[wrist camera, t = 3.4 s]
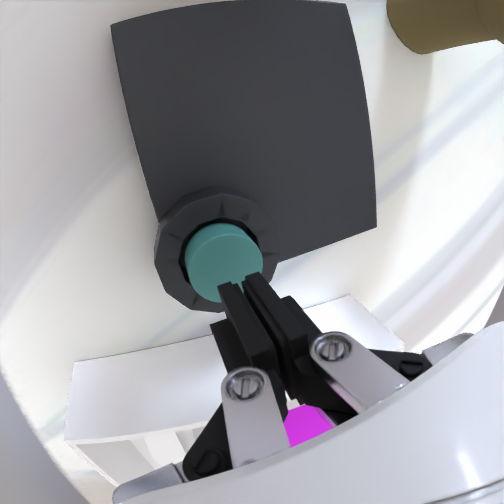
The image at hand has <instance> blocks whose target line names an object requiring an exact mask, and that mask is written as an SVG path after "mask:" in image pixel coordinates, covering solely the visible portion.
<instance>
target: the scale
mask: <svg viewBox="0 0 504 504" xmlns="http://www.w3.org/2000/svg"><path fill="white" fill-rule="evenodd" d="M110 28H111V34H112V40H113V45H114V51H115V56H116V62H117V67H118V72H119V77H120V81H121V86H122V91H123V95H124V100H125V104H126V108H127V113H128V117H129V121H130V125H131V129H132V133H133V137H134V140H135V144H136V148H137V152H138V155H139V159H140V163H141V166H142V170H143V173H144V177H145V180H146V183H147V187H148V190H149V193H150V197H151V200H152V203H153V206H154V209H155V213H156V216H157V219H158V222H159V227H158V232H157V236H156V241H155V246H154V262H155V267H156V269H157V272H158V274H159V277H160V279H161V282H162V284H163V287H164V289H165V291H166V293H168V294H169V295H170V296H172V297H173V298H175V299H176V300H177V301H179V302H180V303H182V304H183V305H184V306H186V307H187V308H189V309H191V310H198V311H207V312H216V313H220V312H224V308H223V305H222V302H214V301H210V300H208V299H205V298H204V297H202V296H200V295H199V294H198V293H197V292H196V291H195V290H194V288H193V286H192V284H191V282H190V279H189V275H188V272H187V268H186V264H185V251H186V247H187V245H188V243H189V241H190V239H191V238H192V237H193V236H194V234H195V233H197V232H198V231H199V230H200V229H202V228H204V227H205V226H208V225H210V224H214V223H229V224H233V225H235V226H237V227H239V228H241V229H242V230H243V231H244V232H245V233H246V234H247V235H248V236H249V237H250V238H251V240H252V241H253V242H254V243H255V244H256V245H257V247H258V248H259V250H260V252H261V255H262V259H263V268H262V273H261V275H262V276H263V277H264V278H265V280H266V281H267V282H268V283H270V281H271V280H272V277H273V274H274V272H275V269H276V266H277V263H279V262H282V261H284V260H287V259H290V258H293V257H296V256H299V255H301V254H304V253H307V252H310V251H313V250H315V249H318V248H321V247H324V246H326V245H329V244H332V243H335V242H338V241H340V240H343V239H346V238H349V237H351V236H354V235H357V234H359V233H362V232H365V231H368V230H370V229H373V228H376V227H377V216H376V190H375V173H374V160H373V149H372V139H371V130H370V122H369V114H368V107H367V100H366V94H365V88H364V82H363V76H362V71H361V65H360V60H359V56H358V51H357V46H356V42H355V37H354V33H353V29H352V25H351V21H350V17H349V13H348V10H347V6H346V4H343V3H335V2H326V1H314V0H235V1H223V2H214V3H205V4H198V5H191V6H185V7H179V8H174V9H169V10H164V11H159V12H155V13H151V14H147V15H143V16H139V17H135V18H131V19H128V20H124V21H121V22H118V23H114V24H112V25H111V26H110Z"/></svg>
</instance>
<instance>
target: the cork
mask: <svg viewBox="0 0 504 504" xmlns="http://www.w3.org/2000/svg"><path fill="white" fill-rule="evenodd" d="M387 13H388V17H389V20H390V23H391V25H392V27H393V29H394V31H395V33H396V34H397V36H398V37H399V39H400V40H401V41H402V42H403V43H404V45H405V46H407V47H408V48H409V49H410V50H412V51H413V52H416V53H418V54H428V53H431V52H435V51H439V50H444V49H448V48H452V47H457V46H462V45H467V44H472V43H477V42H483V41H489V40H495V39H497V40H498V41H500V42H501V43H503V44H504V0H388V1H387Z"/></svg>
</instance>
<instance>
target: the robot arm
mask: <svg viewBox="0 0 504 504" xmlns="http://www.w3.org/2000/svg"><path fill="white" fill-rule="evenodd" d="M241 285H242V289H243V292H242V290H241V288H240V287H239V285H238V283H235V284H232V283H231V281H229V282H226V283H223V284H221V285H218V286H217V289H218V292H219V295H220V298H221V301H222V305H223V308H224V311H225V314H226V317H227V319H224V320H221V321H218V322H216V323H213V324H210V327H211V330H212V333H213V336H214V338H215V341H216V344H217V347H218V349H219V352H220V355H221V357H222V360H223V363H224V365H225V368H226V371H227V373H228V374H227V375H226V376H225V378H224V379H223V381H222V383H221V396H222V403H221V404H220V406H219V407H218V409H217V410H216V412H215V413H214V415H213V416H212V418H211V419H210V420H209V422H208V423H207V425H206V426H205V428H204V429H203V431H202V432H201V434H200V435H199V437H198V438H197V439H196V441H195V442H194V444H193V445H192V447H191V448H190V449H189V451H188V452H187V454H186V455H185V457H184V459H183V461H181V462H179V463H177V464H173V463H170V464H168V465H166V466H164V467H161V468H159V469H157V470H155V471H152V472H150V473H148V474H145V475H143V476H140V477H138V478H135V479H133V480H130V481H128V482H125V483H123V484H121V485H119V486H118V487H117V488H116V489H115V491H114V493H113V497H112V500H113V504H504V321H502V322H499V323H496V324H493V325H491V326H489V327H487V328H485V329H483V330H481V331H479V332H478V333H476V334H475V335H474V334H471V333H463V334H459V335H457V336H455V337H453V338H451V339H448V340H446V341H444V342H442V343H439V344H437V345H435V346H432V347H430V348H428V349H425V350H423V351H422V354H420V355H419V354H416V353H409V352H397V351H386V350H376V349H367V348H365V347H364V346H363V345H362V344H360V343H359V342H358V341H356V340H355V339H354V338H352V337H351V336H350V335H348V334H346V333H343V332H339V331H330V332H325V333H322V332H321V330H320V329H319V328H318V327H317V326H316V325H315V323H314V322H313V321H312V320H311V319H310V318H309V316H308V315H307V314H306V313H305V312H304V311H303V309H302V308H301V307H300V306H299V305H298V303H297V302H296V301H295V300H294V299H293V298H292V297H291V296H286V297H284V298H281V299H280V298H279V296H278V295H277V294H276V292H275V291H274V290H273V289H272V287H271V286H270V285H269V284H268V282H267V281H266V280H265V278H264V277H263V276H262V275H261V273H260V272H259V271H258V272H255V273H252V274H249V275H247V276H245V280H244V281H241ZM285 391H286V393H287V394H288V396H289V398H290V399H291V400H294V399H297V401H298V403H299V404H300V406H301V405H303V404H305V405H308V406H312V407H315V409H316V411H317V412H318V414H319V415H320V416H321V417H322V418H323V419H324V420H325V421H326V422H327V423H328V424H329V425H330V426H331V428H332V429H330V430H328V431H326V432H324V433H322V434H320V435H318V436H316V437H314V438H312V439H310V440H307V441H305V442H303V443H301V444H298V445H296V446H294V447H292V448H291V446H290V443H289V440H288V437H287V433H286V430H285V427H284V424H283V423H284V421H285V419H286V417H287V415H288V413H289V412H288V408H287V397H286V393H285Z"/></svg>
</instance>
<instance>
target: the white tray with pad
mask: <svg viewBox="0 0 504 504" xmlns="http://www.w3.org/2000/svg"><path fill="white" fill-rule="evenodd" d="M303 311H304V312H305V313H306V314H307V315H308V316H309V318H310V319H311V320H312V321H313V322H314V323H315V325H316V326H317V327H318V328H319V329H320V330H321V332H322V333H325V332H330V331H339V332H343V333H346V334H348V335H350V336H351V337H352V338H354V339H355V340H356V341H358V342H359V343H360V344H362V345H363V346H364V347H365V348H367V349H376V350H386V351H397V352H404V349H405V344H404V343H403V342H402V341H401V340H400V339H399V338H398V337H397V336H396V335H395V334H394V333H392V332H391V331H390V330H389V329H388V328H387V327H386V326H385V325H384V324H383V323H381V322H380V321H379V320H378V319H377V318H376V317H375V316H374V315H373V314H372V313H370V312H369V311H368V310H367V309H366V308H365V307H364V306H363V305H361V304H360V303H359V302H358V301H357V300H356V299H355V298H354V297H353V296H351V295H347V296H344V297H341V298H338V299H335V300H332V301H329V302H326V303H323V304H319V305H316V306H313V307H310V308H307V309H303ZM227 374H228V373H227V371H226V368H225V365H224V363H223V360H222V357H221V355H220V352H219V349H218V347H217V344H216V341H215V338H214V336H213V335H208V336H204V337H200V338H196V339H192V340H187V341H183V342H178V343H174V344H169V345H165V346H160V347H155V348H151V349H146V350H141V351H136V352H130V353H125V354H120V355H114V356H109V357H103V358H97V359H91V360H85V361H78V362H74V366H73V372H72V378H71V384H70V390H69V397H68V404H67V412H66V421H65V431H64V441H65V442H66V443H67V444H68V445H69V446H70V447H71V448H72V449H73V450H74V451H75V452H76V453H77V454H78V455H79V456H80V457H81V458H83V459H84V460H85V461H86V462H87V463H88V464H89V465H90V466H91V467H93V468H94V469H95V470H96V471H97V472H98V473H100V474H101V475H102V476H103V477H104V478H106V479H107V480H108V481H109V482H110V483H112V484H113V485H114V486H116V487H118V486H119V485H121V484H123V483H125V482H128V481H130V480H133V479H135V478H138V477H140V476H143V475H145V474H148V473H150V472H152V471H155V470H157V469H159V468H161V467H164V466H166V465H168V464H170V463H173V464H177V463H179V462H181V461H183V459H184V457H185V455H186V454H187V452H188V451H189V449H190V448H191V447H192V445H193V444H194V442H195V441H196V439H197V438H198V437H199V435H200V434H201V432H202V431H203V429H204V428H205V426H206V425H207V423H208V422H209V420H210V419H211V418H212V416H213V415H214V413H215V412H216V410H217V409H218V407H219V406H220V404H221V403H222V396H221V383H222V381H223V379H224V378H225V376H226V375H227ZM285 393H286V391H285ZM286 397H287V408H288V412H289V413H288V415H287V417H286V419H285V421H284V423H283V424H284V427H285V430H286V433H287V437H288V440H289V443H290V446H291V448H292V447H294V446H296V445H298V444H301V443H303V442H305V441H307V440H310V439H312V438H314V437H316V436H318V435H320V434H322V433H324V432H326V431H328V430H330V429H332V428H331V426H330V425H329V424H328V423H327V422H326V421H325V420H324V419H323V418H322V417H321V416H320V415H319V414H318V412H317V411H316V409H315V407H312V406H308V405H305V404H303V405H301V406H300V404H299V403H298V401H297V399H294V400H291V399H290V398H289V396H288V394H287V393H286Z"/></svg>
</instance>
